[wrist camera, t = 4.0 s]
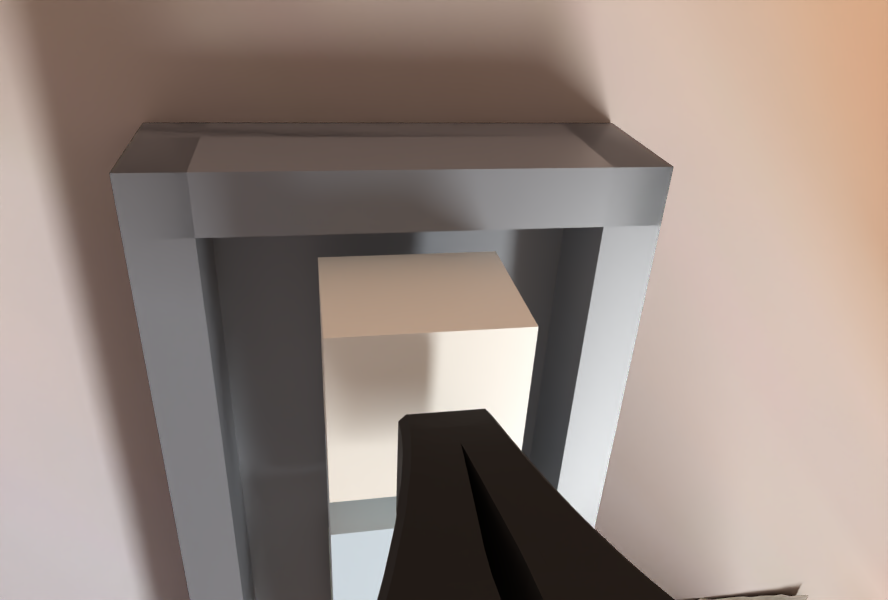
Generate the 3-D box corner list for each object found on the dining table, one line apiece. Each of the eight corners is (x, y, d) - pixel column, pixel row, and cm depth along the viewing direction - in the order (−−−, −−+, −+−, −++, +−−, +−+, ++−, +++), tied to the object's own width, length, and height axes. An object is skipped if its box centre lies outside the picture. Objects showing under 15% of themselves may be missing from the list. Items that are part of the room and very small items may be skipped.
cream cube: (323, 403, 15) (329, 502, 12) (318, 257, 13) (322, 339, 11) (482, 392, 15) (516, 484, 13) (496, 251, 14) (538, 326, 11)
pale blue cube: (329, 545, 17) (335, 653, 14) (325, 433, 15) (330, 535, 13) (468, 529, 17) (496, 631, 15) (479, 421, 16) (512, 515, 13)
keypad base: (234, 699, 24) (227, 797, 21) (142, 122, 14) (109, 173, 12) (521, 657, 25) (547, 743, 23) (612, 123, 16) (673, 166, 13)
